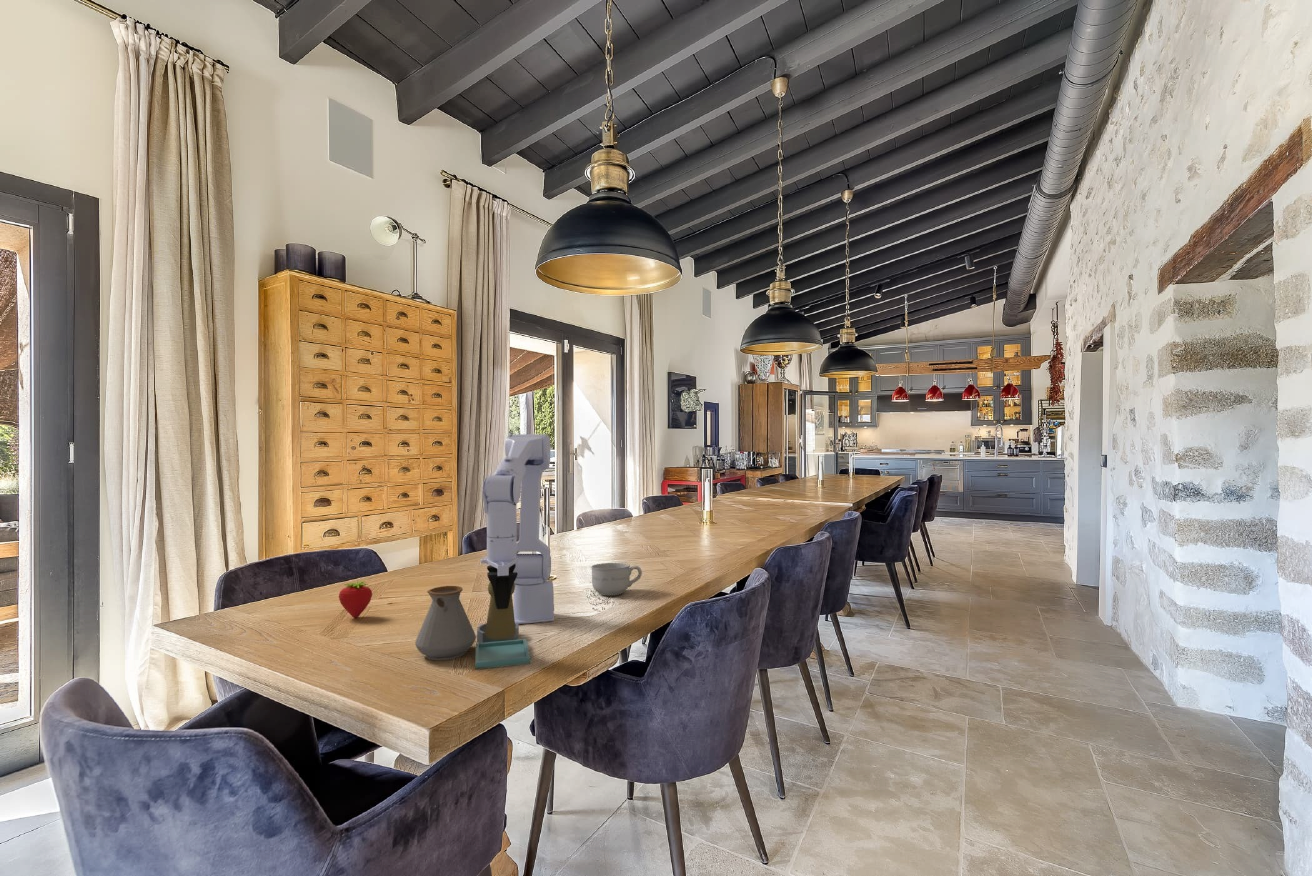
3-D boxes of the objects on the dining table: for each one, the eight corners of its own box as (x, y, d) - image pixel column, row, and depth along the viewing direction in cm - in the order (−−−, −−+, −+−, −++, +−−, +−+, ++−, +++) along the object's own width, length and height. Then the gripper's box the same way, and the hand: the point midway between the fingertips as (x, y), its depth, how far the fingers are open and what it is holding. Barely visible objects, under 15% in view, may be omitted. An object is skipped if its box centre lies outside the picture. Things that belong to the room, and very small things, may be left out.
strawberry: (345, 614, 148) (345, 573, 148) (376, 613, 148) (376, 573, 148) (333, 621, 142) (333, 579, 142) (365, 621, 142) (365, 578, 142)
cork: (521, 631, 121) (523, 576, 121) (505, 640, 116) (507, 583, 116) (495, 627, 123) (496, 573, 123) (478, 636, 117) (479, 580, 117)
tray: (525, 644, 126) (525, 638, 126) (529, 663, 116) (529, 657, 115) (475, 649, 123) (475, 643, 123) (475, 669, 113) (475, 662, 113)
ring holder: (517, 630, 135) (517, 619, 135) (519, 643, 127) (519, 631, 127) (477, 634, 133) (477, 622, 133) (477, 647, 124) (476, 635, 124)
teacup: (586, 597, 163) (586, 568, 163) (597, 587, 174) (597, 560, 174) (637, 599, 161) (637, 569, 161) (644, 589, 171) (644, 561, 171)
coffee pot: (419, 646, 125) (419, 574, 125) (476, 641, 128) (476, 570, 128) (403, 687, 105) (403, 601, 104) (472, 680, 107) (472, 596, 107)
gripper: (480, 531, 125) (480, 596, 125) (480, 543, 111) (480, 616, 111) (515, 529, 127) (515, 594, 127) (519, 541, 113) (520, 613, 113)
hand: (501, 604), depth 119 cm, fingers closed on cork, 5 cm apart
